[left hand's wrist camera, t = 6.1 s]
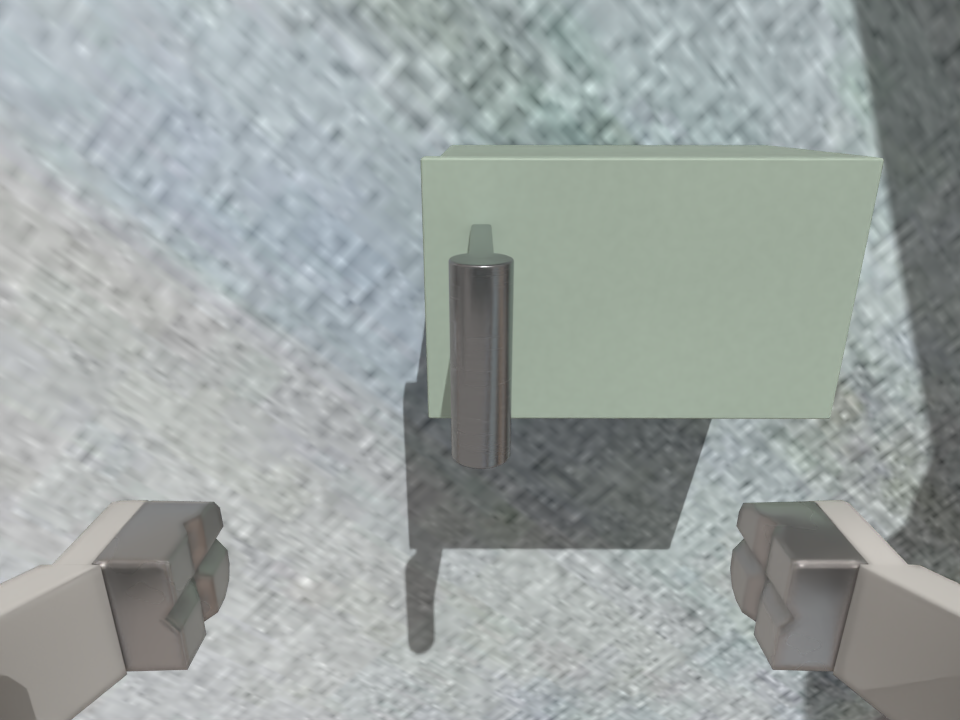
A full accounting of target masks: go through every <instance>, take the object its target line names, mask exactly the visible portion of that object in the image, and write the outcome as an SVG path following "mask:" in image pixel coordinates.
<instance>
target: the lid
mask: <svg viewBox="0 0 960 720" xmlns="http://www.w3.org/2000/svg"><path fill="white" fill-rule="evenodd" d="M883 162H884V159H883V158H877V157H661V156H425V157H423V158H421V188H422V222H423V255H424V288H425V321H426V355H427V388H428V416H429V418H451V444H452V457H453V459H454V460H455V461H456V462H457V463H459V464H460V465H463V466H466V467H469V468H476V469H486V468H493V467H497V466H500V465H502V464H503V463H505V462H506V461H507V460H508V459H509V457H510V451H511V418H679V419H829V418H830V416H831V411H832V406H833V402H834V397H835V392H836V387H837V383H838V378H839V373H840V368H841V363H842V359H843V354H844V349H845V344H846V339H847V335H848V330H849V325H850V320H851V315H852V311H853V306H854V301H855V296H856V291H857V287H858V282H859V277H860V272H861V268H862V263H863V258H864V253H865V248H866V244H867V239H868V234H869V229H870V224H871V220H872V215H873V210H874V205H875V200H876V196H877V191H878V186H879V181H880V176H881V172H882V167H883Z"/></svg>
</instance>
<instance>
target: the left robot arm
mask: <svg viewBox="0 0 960 720" xmlns="http://www.w3.org/2000/svg"><path fill="white" fill-rule="evenodd" d="M222 528H223V521H222V516H221V511H220V507H219V506H218V505H217V504H216V503H215V502H196V501H148V500H127V501H116V502H112V503H111V504H110V505H109V506H108V507H107V508H106V509H105V510H104V511H103V512H102V513H101V514H100V515H99V516H98V517H97V518H96V519H95V520H94V521H93V522H92V523H91V524H90V525H89V526H88V528H87V529H86V530H85V531H84V532H83V533H82V534H81V535H80V536H79V537H78V538H77V539H76V540H75V541H74V542H73V543H72V544H71V545H70V546H69V547H68V548H67V549H66V550H65V551H64V553H63V554H62V555H61V556H60V557H59V558H58V559H57V560H56V561H55V562H54V563H53V564H52V565H39V566H37V567H35V568H33V569H31V570H29V571H27V572H24V573H22V574H20V575H18V576H16V577H14V578H12V579H9V580H7V581H5V582H3V583H1V584H0V720H71V719H73V718H74V717H75V716H76V715H77V714H79V713H80V712H81V711H82V710H84V709H85V708H86V707H87V706H89V705H90V704H91V703H92V702H94V701H95V700H96V699H97V698H98V697H100V696H101V695H102V694H103V693H105V692H106V691H107V690H108V689H110V688H111V687H112V686H113V685H115V684H116V683H117V682H118V681H120V680H121V679H122V678H123V677H124V676H126V675H127V672H126V671H158V670H188V668H189V666H190V664H191V662H192V660H193V658H194V656H195V655H196V653H197V651H198V649H199V647H200V645H201V643H202V641H203V640H204V638H205V636H206V630H205V625H204V621H206V620H207V619H209V618H210V617H212V616H213V615H215V614H216V613H217V612H218V611H219V609H220V607H221V605H222V603H223V601H224V599H225V596H226V591H227V587H228V582H229V557H228V550H227V549H226V548H225V547H224V546H223V545H222V544H221V543H220V542H219V541H218V540H217V539H216V537H217V536H218V534H219V533H220V531H221V529H222ZM737 528H738V529H739V531H740V533H741V534H742V536H743V537H744V539H743V540H742V541H741V542H740V543H739V544H738V545H737V546H736V547H735V548H734V549H733V550H732V558H731V566H730V572H731V582H732V589H733V592H734V595H735V599H736V601H737V603H738V605H739V607H740V609H741V611H742V612H743V613H744V614H745V615H747V616H748V617H750V618H751V619H753V620H754V621H756V625H755V630H754V636H755V638H756V639H757V641H758V643H759V645H760V647H761V649H762V651H763V653H764V654H765V656H766V658H767V660H768V662H769V664H770V666H771V667H772V669H773V670H801V671H834V672H833V675H835V676H836V677H837V678H838V679H840V680H841V681H842V682H843V683H844V684H846V685H847V686H848V687H849V688H851V689H852V690H853V691H854V692H856V693H857V694H858V695H859V696H861V697H862V698H863V699H864V700H865V701H867V702H868V703H869V704H870V705H872V706H873V707H874V708H875V709H877V710H878V711H879V712H880V713H882V714H883V715H884V716H885V717H886V718H888V719H889V720H960V584H959V583H957V582H955V581H953V580H951V579H948V578H946V577H944V576H942V575H940V574H938V573H936V572H933V571H931V570H929V569H927V568H925V567H923V566H921V565H908V564H907V563H906V562H905V561H904V560H903V559H902V558H901V557H900V556H899V555H898V553H897V552H896V551H895V550H894V549H893V548H892V547H891V546H890V545H889V544H888V543H887V542H886V541H885V540H884V539H883V538H882V537H881V536H880V535H879V534H878V533H877V532H876V531H875V529H874V528H873V527H872V526H871V525H870V524H869V523H868V522H867V521H866V520H865V519H864V518H863V517H862V516H861V515H860V514H859V513H858V512H857V511H856V510H855V509H854V508H853V507H852V505H851V504H849V503H847V502H845V501H842V500H826V501H806V502H763V503H743V505H742V507H741V509H740V511H739V515H738V520H737Z"/></svg>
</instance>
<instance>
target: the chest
mask: <svg viewBox="0 0 960 720" xmlns="http://www.w3.org/2000/svg"><path fill="white" fill-rule="evenodd" d="M441 156H661V157H868V156H860V155H851V154H842V153H832V152H823V151H814V150H805V149H796V148H787V147H777V146H768V145H452V146H450V147H449V148H448V149H447V150H446V151H445V152H444V153H443V154H442V155H441Z"/></svg>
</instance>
